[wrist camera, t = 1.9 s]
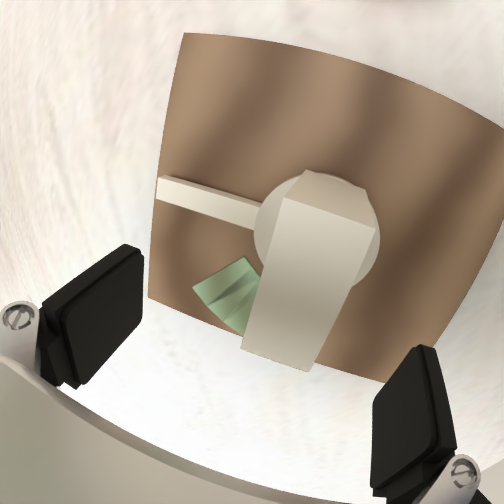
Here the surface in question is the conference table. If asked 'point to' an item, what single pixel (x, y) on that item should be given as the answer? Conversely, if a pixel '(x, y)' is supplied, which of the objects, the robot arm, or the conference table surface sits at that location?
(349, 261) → the peg knob
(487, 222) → the dial board
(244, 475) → the conference table surface
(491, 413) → the conference table surface
